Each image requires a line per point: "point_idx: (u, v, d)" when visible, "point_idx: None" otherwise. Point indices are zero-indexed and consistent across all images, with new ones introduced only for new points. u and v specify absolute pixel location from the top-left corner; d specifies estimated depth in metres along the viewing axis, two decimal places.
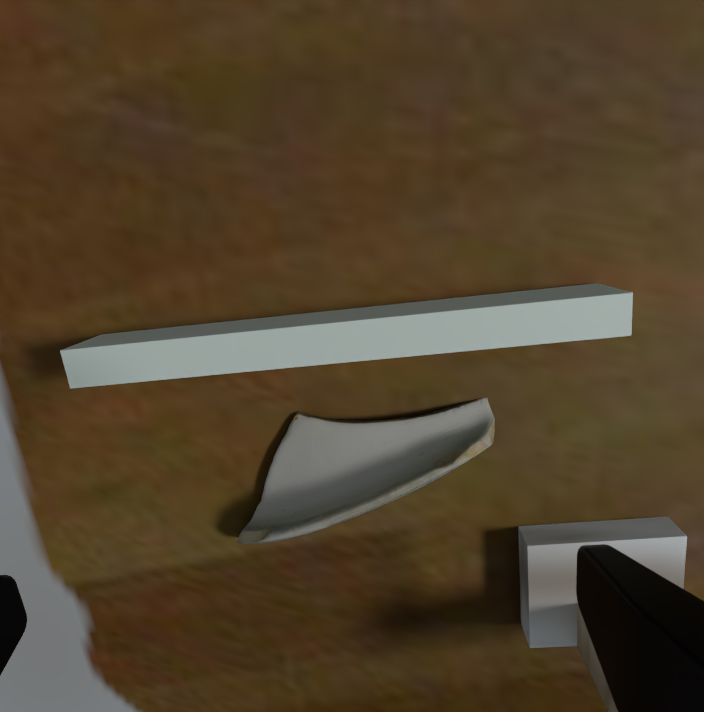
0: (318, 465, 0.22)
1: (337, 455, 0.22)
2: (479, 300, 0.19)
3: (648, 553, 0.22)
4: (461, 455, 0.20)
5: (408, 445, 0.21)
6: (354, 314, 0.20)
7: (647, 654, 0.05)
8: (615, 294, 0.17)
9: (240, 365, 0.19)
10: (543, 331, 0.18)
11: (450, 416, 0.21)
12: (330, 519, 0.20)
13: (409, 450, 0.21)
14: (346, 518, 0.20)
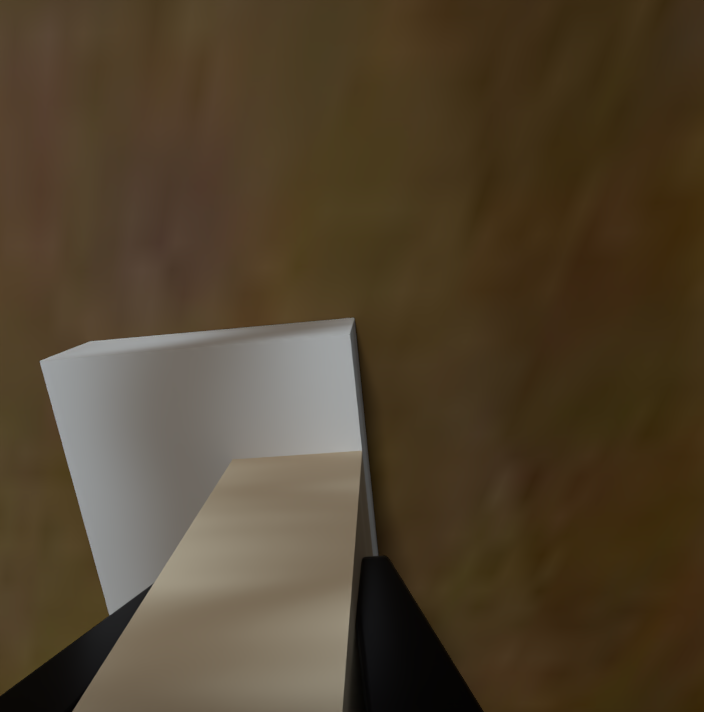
0: None
1: None
2: None
3: (100, 439, 0.09)
4: None
5: None
6: None
7: None
8: None
9: None
10: None
11: None
12: None
13: None
14: None
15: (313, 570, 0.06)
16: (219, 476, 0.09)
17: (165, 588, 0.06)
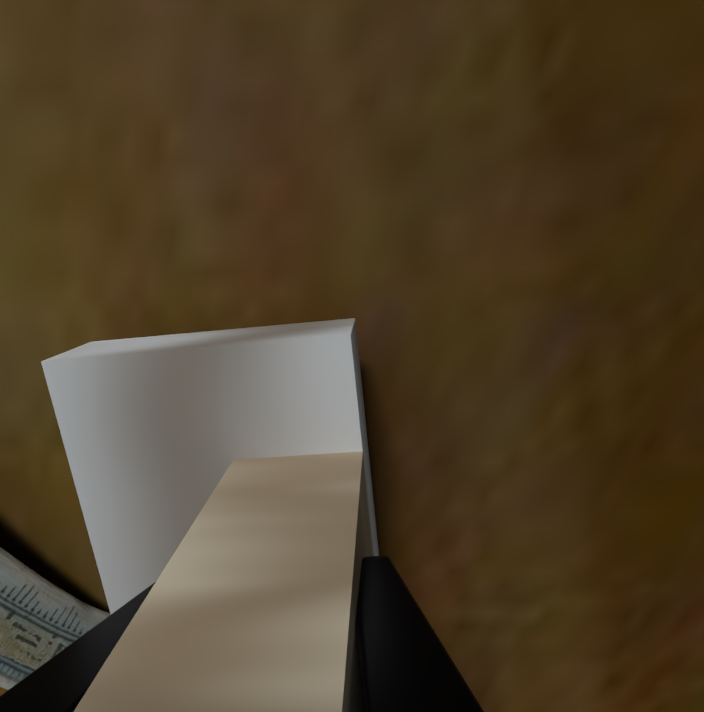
0: None
1: None
2: None
3: (102, 439, 0.09)
4: None
5: None
6: None
7: None
8: None
9: None
10: None
11: None
12: None
13: None
14: None
15: (314, 570, 0.06)
16: (220, 476, 0.09)
17: (166, 589, 0.06)
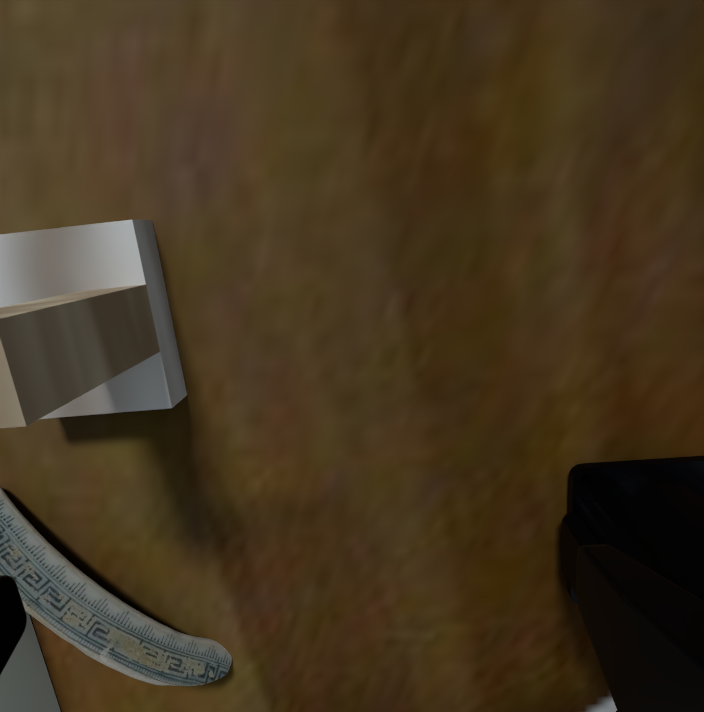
0: None
1: None
2: None
3: (10, 281, 0.17)
4: None
5: None
6: None
7: (647, 654, 0.05)
8: None
9: None
10: None
11: None
12: None
13: None
14: (78, 643, 0.19)
15: (78, 297, 0.14)
16: None
17: (15, 304, 0.14)
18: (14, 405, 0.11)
